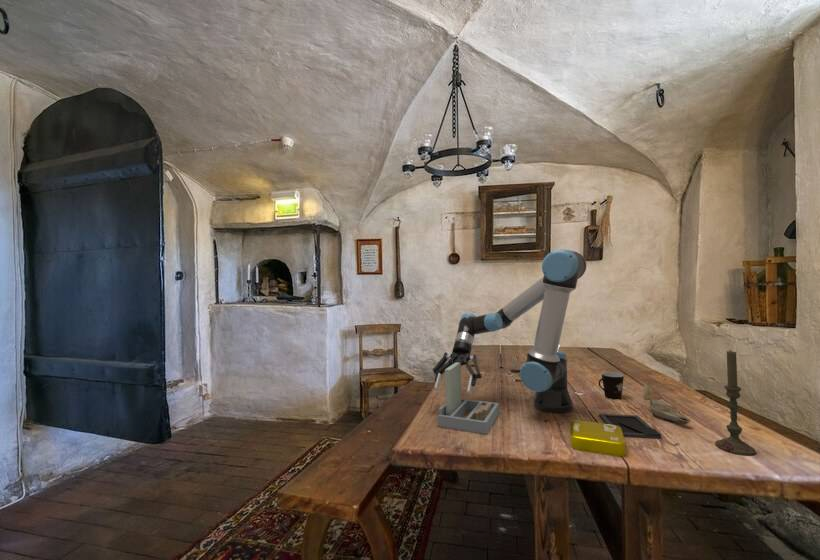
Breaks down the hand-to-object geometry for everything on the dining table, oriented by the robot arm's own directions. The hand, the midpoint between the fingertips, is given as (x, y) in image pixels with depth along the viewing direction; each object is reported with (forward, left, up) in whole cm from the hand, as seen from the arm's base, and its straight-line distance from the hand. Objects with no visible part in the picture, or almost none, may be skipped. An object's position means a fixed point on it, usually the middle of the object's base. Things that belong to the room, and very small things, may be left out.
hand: (452, 391), depth 136 cm
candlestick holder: (-87, -9, -11) cm, 88 cm away
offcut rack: (-6, -1, -11) cm, 12 cm away
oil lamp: (-73, -30, -11) cm, 80 cm away
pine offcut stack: (-11, -1, -11) cm, 16 cm away
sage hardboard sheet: (0, -1, -11) cm, 11 cm away
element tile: (-49, +2, -11) cm, 50 cm away
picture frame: (-59, -16, -11) cm, 63 cm away
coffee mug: (-56, -49, -11) cm, 75 cm away
